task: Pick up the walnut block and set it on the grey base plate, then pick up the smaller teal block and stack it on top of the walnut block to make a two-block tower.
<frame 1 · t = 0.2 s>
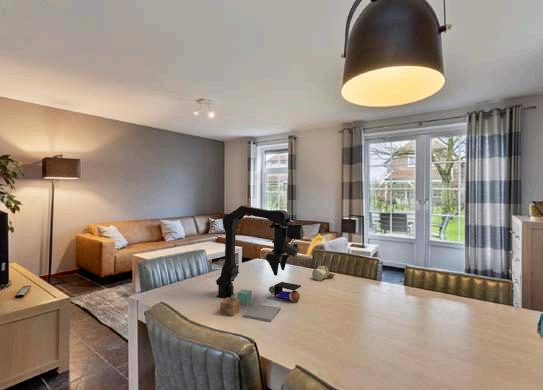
hand: (279, 272, 128), 14 cm above the table, fingers open, 9 cm apart
figurine character: (284, 299, 135), on the table
base plate: (262, 313, 119), on the table
teal block: (244, 302, 130), on the table
walnut block: (230, 312, 119), on the table
ceramic sculpture: (321, 279, 167), on the table
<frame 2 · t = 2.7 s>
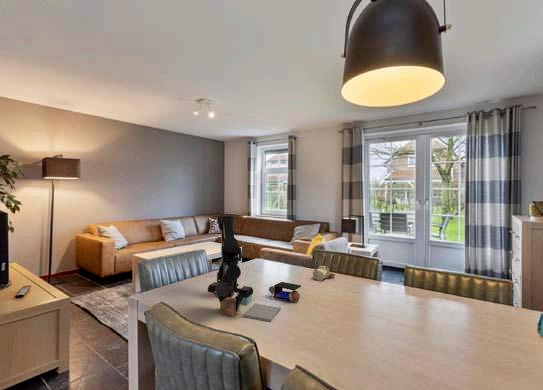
hand: (230, 309, 119), 1 cm above the table, fingers closed on walnut block, 6 cm apart
walnut block: (230, 312, 119), on the table, touching gripper
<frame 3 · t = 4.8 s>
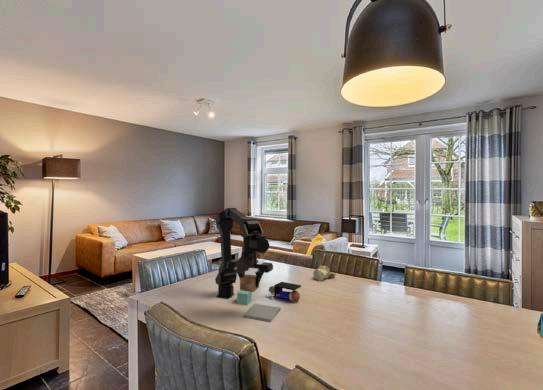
hand: (249, 286, 119), 11 cm above the table, fingers closed on walnut block, 6 cm apart
walnut block: (249, 288, 118), point 10 cm above the table, touching gripper
everything else where it was.
when the fingers open (3 cm above the table, at t = 7.0 s): walnut block drops 1 cm, resting on base plate.
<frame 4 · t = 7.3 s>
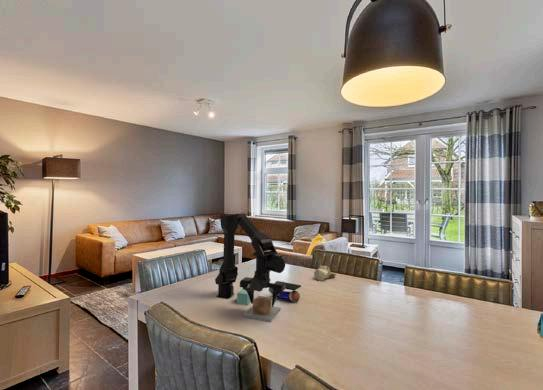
hand: (262, 305, 119), 3 cm above the table, fingers open, 9 cm apart
walnut block: (262, 311, 119), point 1 cm above the table, touching base plate
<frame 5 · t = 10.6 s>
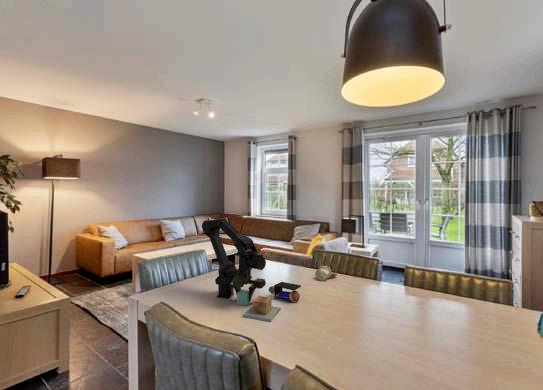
hand: (244, 300, 130), 1 cm above the table, fingers closed on teal block, 5 cm apart
teal block: (244, 302, 130), on the table, touching gripper
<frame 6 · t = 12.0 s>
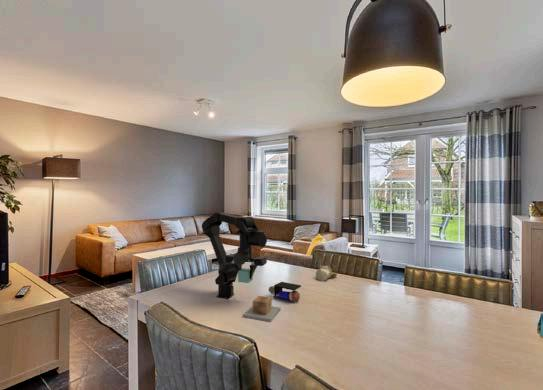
hand: (245, 278, 130), 11 cm above the table, fingers closed on teal block, 5 cm apart
teal block: (245, 280, 130), point 10 cm above the table, touching gripper
when the fingers open (8 cm above the table, at t = 13.7 s): teal block drops 1 cm, resting on walnut block.
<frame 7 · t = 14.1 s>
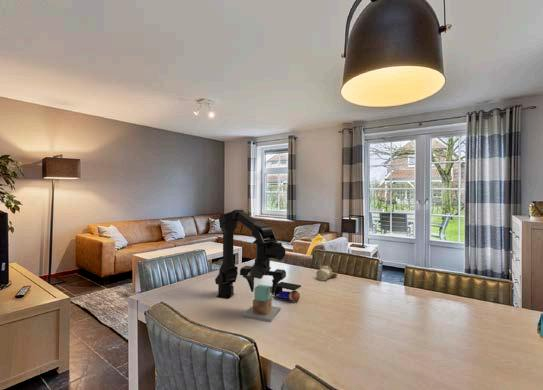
hand: (262, 293, 119), 8 cm above the table, fingers open, 9 cm apart
teal block: (262, 298, 119), point 6 cm above the table, touching walnut block
walnut block: (262, 311, 119), point 1 cm above the table, touching base plate, teal block
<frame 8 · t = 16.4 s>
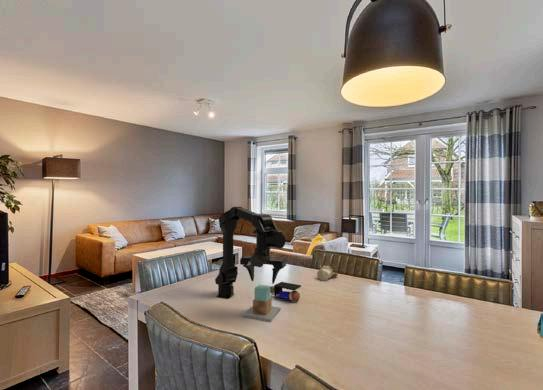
hand: (262, 282, 119), 13 cm above the table, fingers open, 9 cm apart
at the end: walnut block 0.1 cm off-centre on the base plate, point 1.0 cm above the base plate's base; teal block 0.2 cm off-centre on the walnut block, point 5.0 cm above the walnut block's base; teal block tilted 0° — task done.
